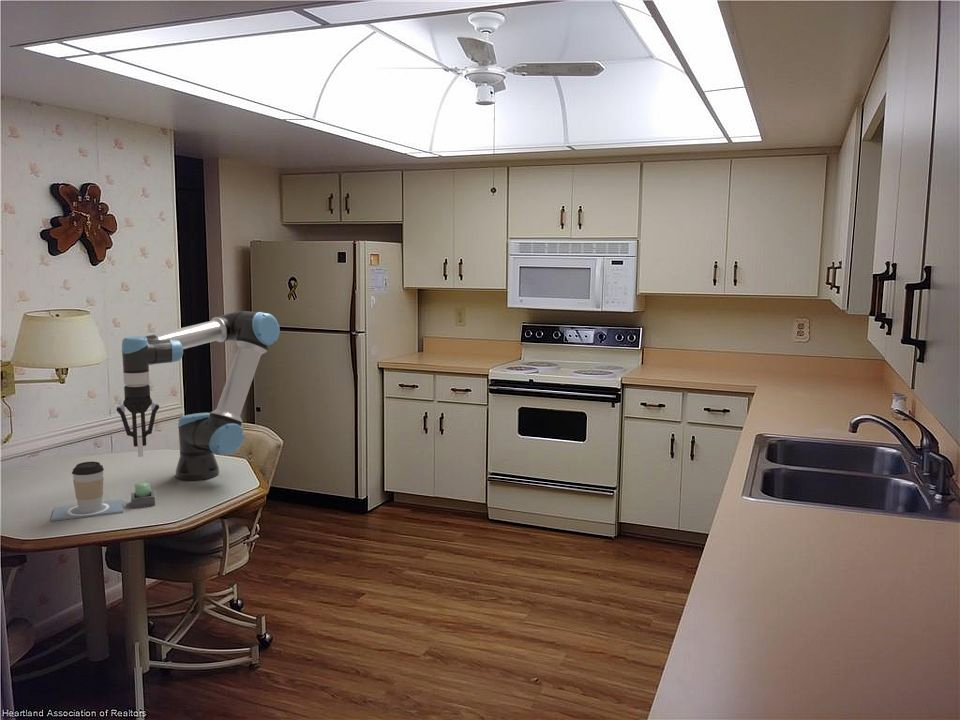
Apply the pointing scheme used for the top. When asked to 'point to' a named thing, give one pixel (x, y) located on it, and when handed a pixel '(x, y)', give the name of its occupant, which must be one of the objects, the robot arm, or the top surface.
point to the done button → (142, 489)
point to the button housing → (142, 500)
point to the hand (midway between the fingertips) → (140, 455)
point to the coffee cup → (88, 486)
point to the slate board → (73, 512)
